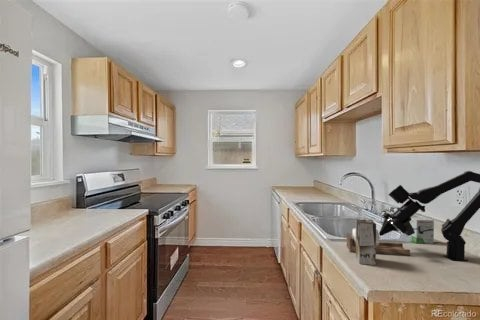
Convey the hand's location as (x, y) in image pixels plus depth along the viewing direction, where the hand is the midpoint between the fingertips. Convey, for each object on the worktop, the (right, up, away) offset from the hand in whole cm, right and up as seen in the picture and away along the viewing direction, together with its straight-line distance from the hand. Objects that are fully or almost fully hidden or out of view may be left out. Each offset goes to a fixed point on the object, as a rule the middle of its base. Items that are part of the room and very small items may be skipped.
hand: (379, 235), depth 139 cm
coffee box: (-12, -7, -14) cm, 20 cm away
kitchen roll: (-6, -6, +1) cm, 8 cm away
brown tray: (-1, -7, 0) cm, 7 cm away
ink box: (+28, -7, +14) cm, 32 cm away
